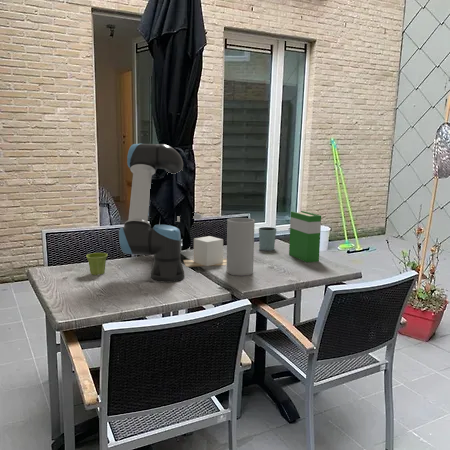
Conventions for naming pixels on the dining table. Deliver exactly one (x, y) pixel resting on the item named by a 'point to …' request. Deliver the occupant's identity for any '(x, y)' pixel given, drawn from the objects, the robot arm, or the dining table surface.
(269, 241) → the grey-blue cup
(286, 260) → the dining table surface
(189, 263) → the wooden cutting board
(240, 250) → the cylinder vase
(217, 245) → the white cover
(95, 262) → the plant pot
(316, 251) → the hardback book
